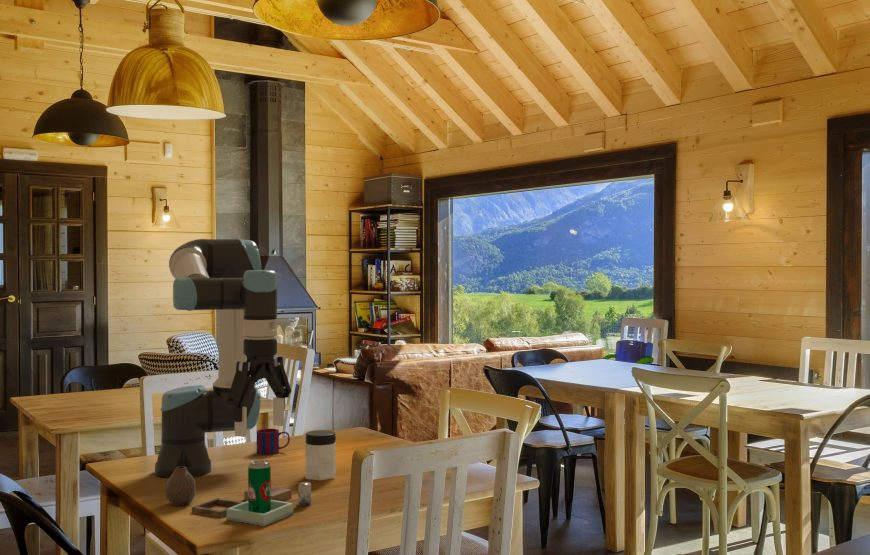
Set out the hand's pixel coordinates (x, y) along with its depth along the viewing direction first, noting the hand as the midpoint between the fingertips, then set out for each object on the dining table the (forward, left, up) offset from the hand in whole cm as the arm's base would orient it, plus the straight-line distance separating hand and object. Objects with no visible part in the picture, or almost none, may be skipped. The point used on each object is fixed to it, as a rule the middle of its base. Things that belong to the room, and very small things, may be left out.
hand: (260, 430), depth 194 cm
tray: (0, 0, -20) cm, 20 cm away
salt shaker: (+3, +13, -20) cm, 24 cm away
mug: (-39, +55, -20) cm, 70 cm away
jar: (-9, +37, -20) cm, 43 cm away
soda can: (0, 0, -19) cm, 19 cm away
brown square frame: (-12, 0, -20) cm, 23 cm away
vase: (-24, 0, -20) cm, 31 cm away
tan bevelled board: (-8, +13, -20) cm, 25 cm away
